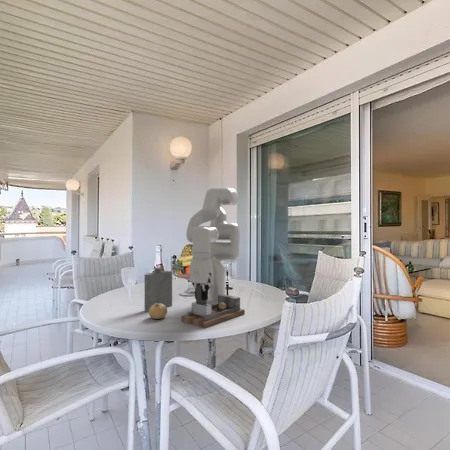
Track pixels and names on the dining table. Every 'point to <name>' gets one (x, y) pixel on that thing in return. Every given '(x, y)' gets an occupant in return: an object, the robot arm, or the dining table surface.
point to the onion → (157, 311)
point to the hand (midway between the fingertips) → (201, 298)
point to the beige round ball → (222, 306)
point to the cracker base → (217, 312)
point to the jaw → (200, 303)
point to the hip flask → (158, 288)
